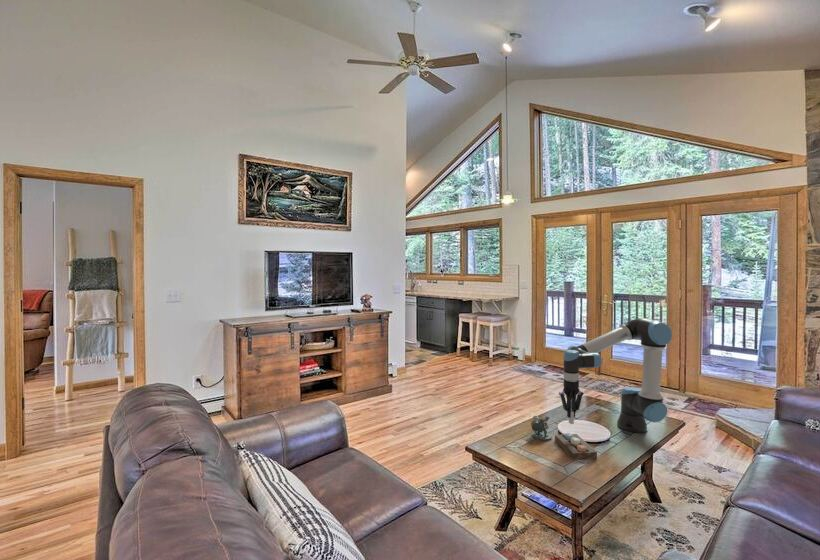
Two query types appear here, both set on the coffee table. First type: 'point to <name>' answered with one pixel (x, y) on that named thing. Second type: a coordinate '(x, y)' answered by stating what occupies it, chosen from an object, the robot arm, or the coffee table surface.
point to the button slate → (568, 436)
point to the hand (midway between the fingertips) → (571, 422)
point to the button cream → (575, 441)
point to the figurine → (540, 429)
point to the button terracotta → (581, 448)
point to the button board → (575, 448)
